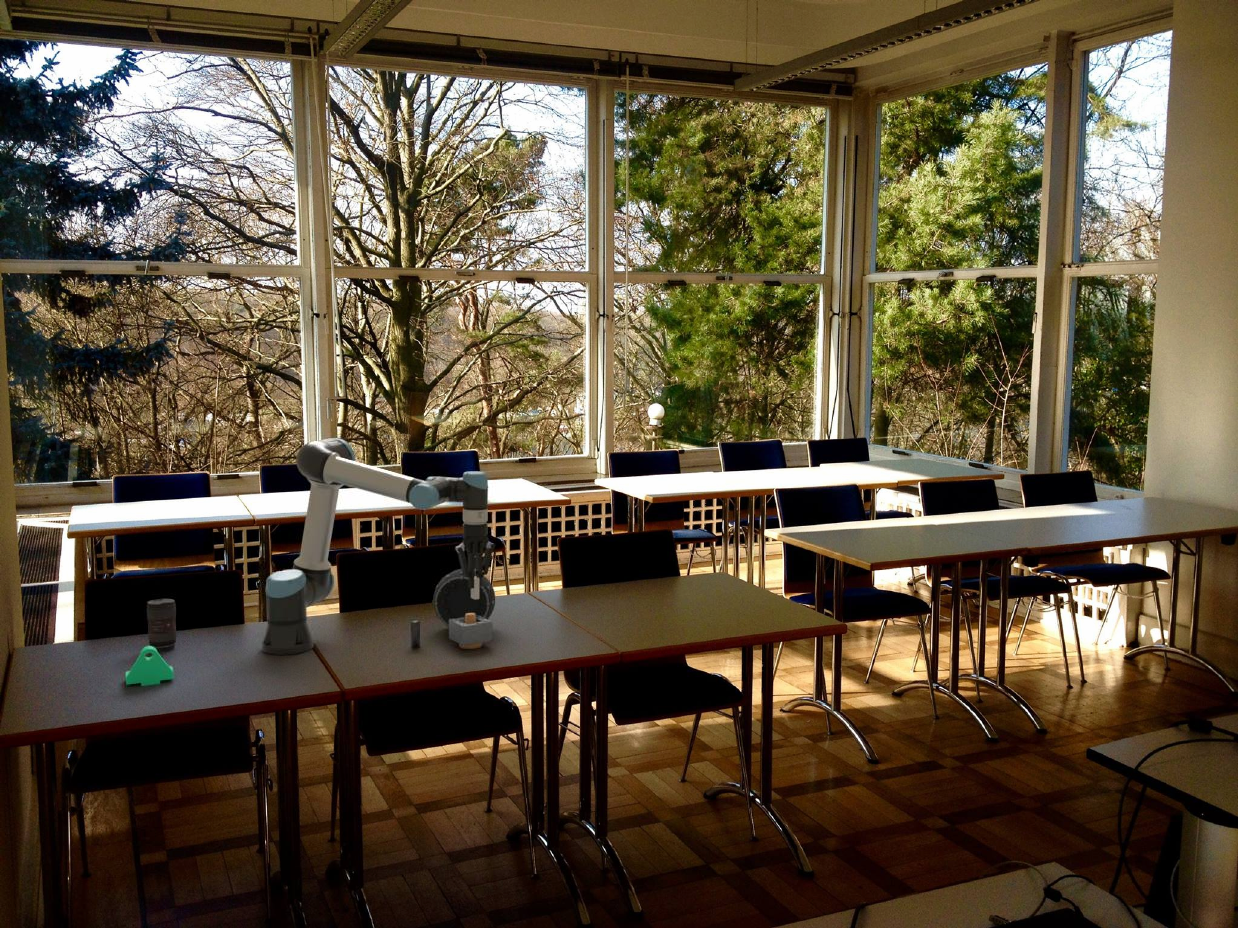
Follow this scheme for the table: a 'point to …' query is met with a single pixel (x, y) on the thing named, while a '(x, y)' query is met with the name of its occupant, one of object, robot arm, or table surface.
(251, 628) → the table surface
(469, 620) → the hub
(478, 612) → the dark grey round disc
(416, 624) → the stand rod
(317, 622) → the table surface
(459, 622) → the open grey box
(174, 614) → the dark grey cylinder
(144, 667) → the camera mount
